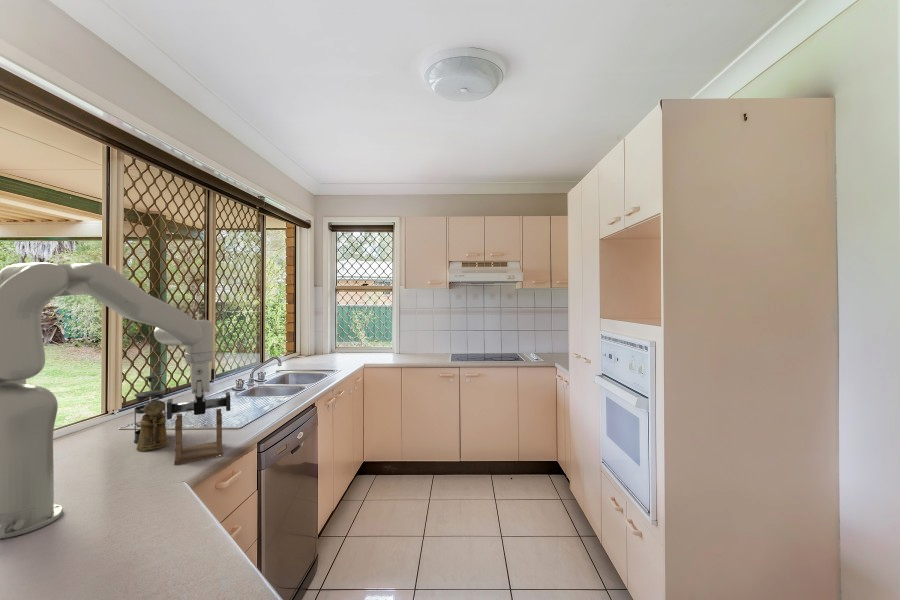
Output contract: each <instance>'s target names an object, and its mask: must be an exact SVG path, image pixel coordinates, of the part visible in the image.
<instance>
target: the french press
mask: <svg viewBox="0 0 900 600" xmlns="http://www.w3.org/2000/svg"><path fill="white" fill-rule="evenodd" d="M157 378H158V375H148V376H144V377H142V379H143V380H148V383H149V390H148V391H141V392H138V393H136V394H134V397H135V402H138V403H140V402H143V401H144V400H145V399H148V398H149V402H151V401H152V397H156V398H157V399H160V400H161V399H164V398H165V393H166V391H165V390H164V389H163V390H161V389H159V390H158V389H157V390H155V389H154V390H152V387H151V386H152V384H151V383H152V380H153V379H157ZM145 405H146V404H141V405H138V406H136V407H134V439H133V440H134V441H133V443H134V444H136V445H137V444H138V441H139V436H140V430H141V420H139V421H138V422H137V421H136V417H137V414H139V415H145V414H146V413H144V411H143V408H144V406H145ZM163 413H164V416H165V417H166V409H165V410H164V411H163ZM137 427H139V428H140V429H137Z"/></svg>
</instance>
